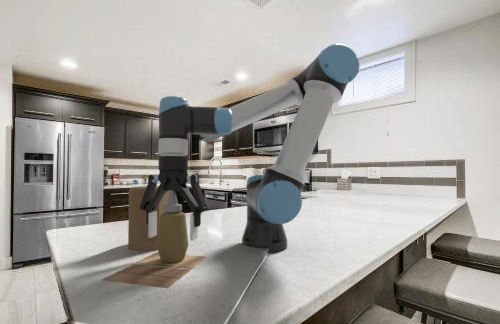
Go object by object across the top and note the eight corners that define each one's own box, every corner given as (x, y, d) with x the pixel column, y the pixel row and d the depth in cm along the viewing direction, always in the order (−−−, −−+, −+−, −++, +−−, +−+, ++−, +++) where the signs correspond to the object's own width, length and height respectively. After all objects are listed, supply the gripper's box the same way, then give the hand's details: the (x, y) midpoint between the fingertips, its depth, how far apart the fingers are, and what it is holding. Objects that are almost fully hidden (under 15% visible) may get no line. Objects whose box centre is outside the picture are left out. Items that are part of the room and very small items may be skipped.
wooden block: (156, 255, 76) (157, 187, 76) (126, 253, 78) (127, 187, 78) (173, 246, 85) (173, 185, 86) (146, 244, 87) (146, 185, 88)
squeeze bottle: (161, 255, 72) (161, 190, 72) (190, 254, 72) (190, 189, 73) (152, 265, 64) (152, 192, 64) (185, 264, 64) (185, 192, 65)
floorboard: (191, 275, 61) (191, 269, 61) (167, 295, 51) (167, 287, 51) (133, 269, 65) (133, 263, 65) (101, 286, 55) (101, 279, 55)
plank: (207, 262, 70) (207, 256, 70) (192, 275, 61) (192, 268, 62) (156, 257, 74) (156, 252, 74) (134, 269, 65) (134, 262, 66)
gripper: (220, 155, 70) (220, 237, 69) (144, 157, 76) (143, 232, 75) (209, 154, 62) (208, 244, 62) (125, 155, 68) (124, 238, 68)
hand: (172, 237), depth 68 cm, fingers open, 11 cm apart
